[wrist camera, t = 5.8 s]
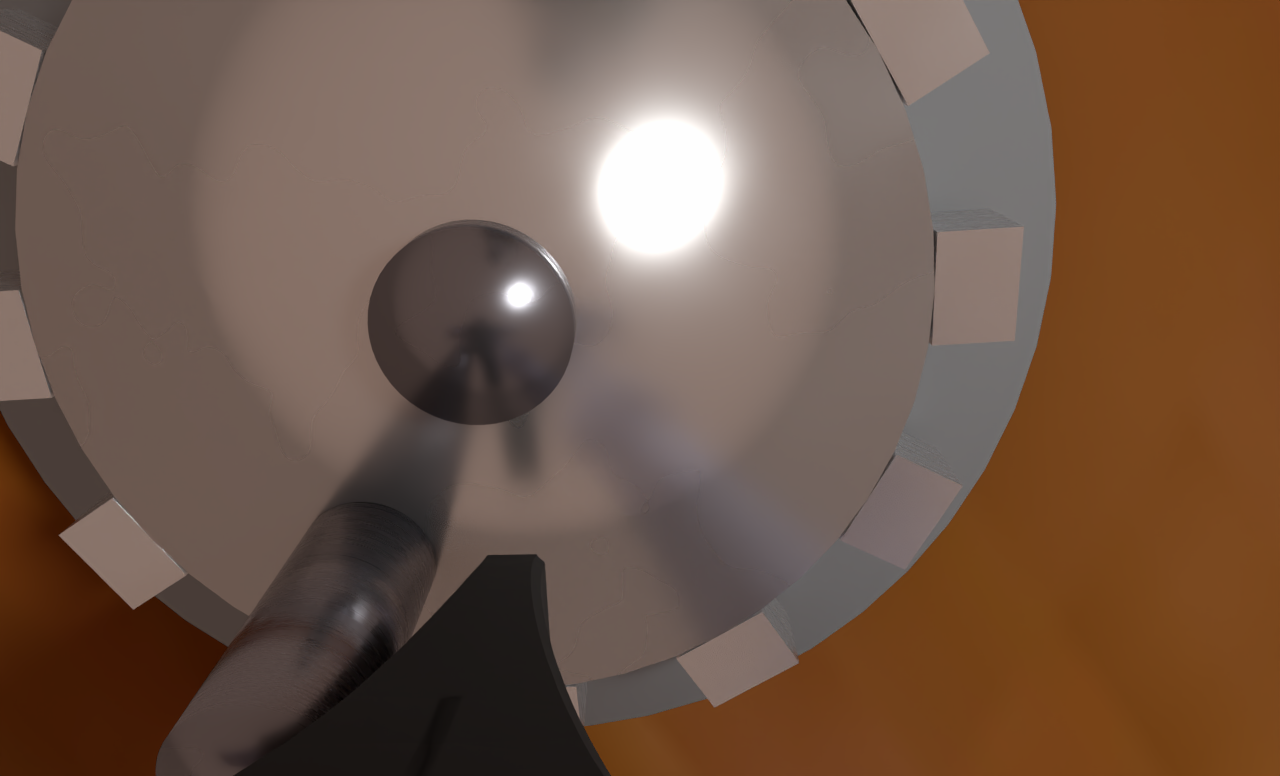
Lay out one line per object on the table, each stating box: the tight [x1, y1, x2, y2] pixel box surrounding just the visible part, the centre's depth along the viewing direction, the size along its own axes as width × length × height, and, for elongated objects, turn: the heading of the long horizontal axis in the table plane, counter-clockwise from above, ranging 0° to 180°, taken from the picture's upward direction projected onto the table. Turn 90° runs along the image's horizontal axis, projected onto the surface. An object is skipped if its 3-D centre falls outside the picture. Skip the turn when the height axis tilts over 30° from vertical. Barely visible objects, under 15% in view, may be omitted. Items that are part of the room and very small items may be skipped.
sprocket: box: [0, 0, 1024, 776], centre depth 10 cm, size 13×13×5 cm
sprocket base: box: [0, 0, 1056, 726], centre depth 13 cm, size 15×15×1 cm
